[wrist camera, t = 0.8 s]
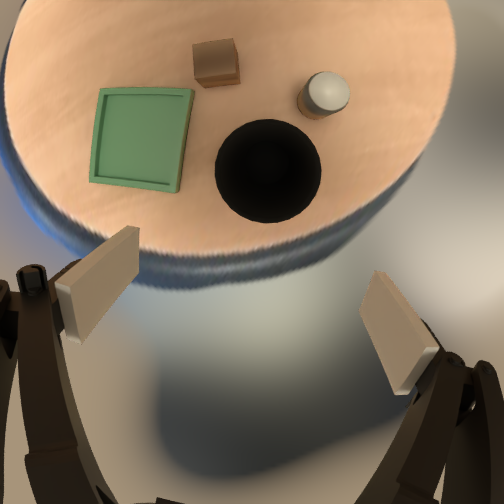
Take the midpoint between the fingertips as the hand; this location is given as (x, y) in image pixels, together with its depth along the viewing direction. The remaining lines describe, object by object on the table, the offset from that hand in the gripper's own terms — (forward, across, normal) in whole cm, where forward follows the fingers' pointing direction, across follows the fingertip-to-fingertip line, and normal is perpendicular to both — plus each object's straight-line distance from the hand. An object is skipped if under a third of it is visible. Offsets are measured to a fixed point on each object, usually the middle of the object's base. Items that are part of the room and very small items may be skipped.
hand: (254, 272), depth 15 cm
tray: (+19, -16, +5) cm, 25 cm away
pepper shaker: (+19, +4, +12) cm, 23 cm away
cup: (+19, 0, +4) cm, 20 cm away
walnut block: (+19, -7, +14) cm, 25 cm away
